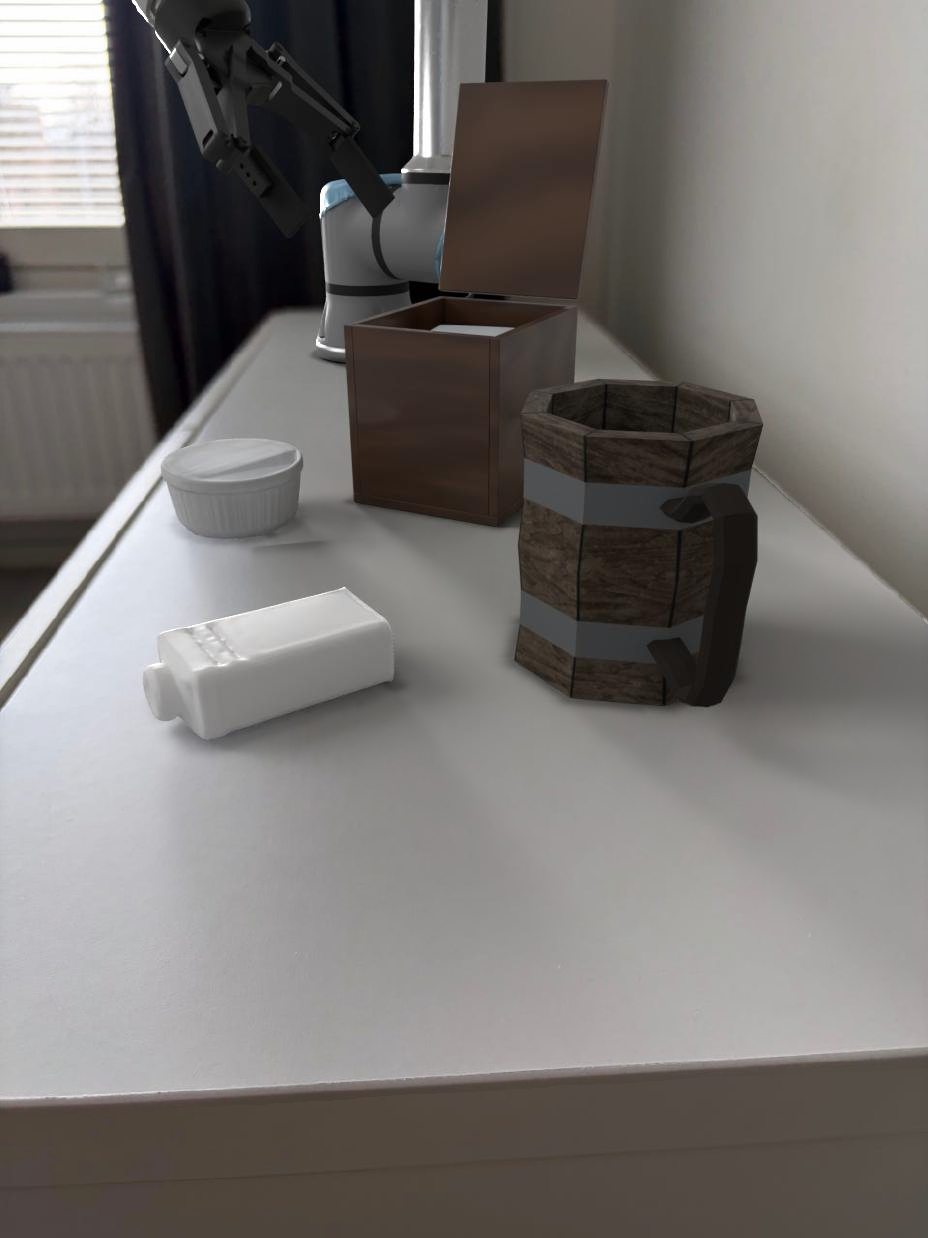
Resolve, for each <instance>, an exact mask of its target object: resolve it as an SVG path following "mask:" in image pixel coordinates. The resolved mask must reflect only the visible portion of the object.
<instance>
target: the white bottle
mask: <svg viewBox="0 0 928 1238" xmlns="http://www.w3.org/2000/svg"><path fill="white" fill-rule="evenodd" d="M393 638H394V635H393V630H392V627H391V625H390V623H389V621H388V620H387V619H386V618H385V617H384V616H383V615H381V614H379V613H378V612H377V611H376V610H374V609H373V608H372V607H371V606H369V605H368V604H366V602H365V601H363V600H361V598H359V597H357V595H355V594H354V593H353V592H352V591H351V590H349V589H348V588H347V587H345V586H343V587H341V588H339V589H334V590H330V591H326V592H323V593H318V594H314V595H311V596H306V597H301V598H299V599H295V600H290V601H286V602H282V603H279V604H275V605H271V606H266V607H262V608H259V609H255V610H250V611H245V612H242V613H239V614H235V615H230V616H226V617H222V618H218V619H214V620H210V621H206V622H202V623H197V624H193V625H190V626H189V625H188V626H185V627H177V628H173V629H169V630H165V631H162V632H160V633H158V634H157V636H156V646H157V653H158V661H159V662H156V663H153V664H149V665H147V666H146V667H145V668H144V669H143V672H142V688H143V692H144V696H145V700H146V702H147V705H148V708H149V710H150V712H151V714H152V715H153V718H155V719H157V720H159V721H162V722H171V721H174V720H175V719H176V718H177V717H178V718H180V719H181V720H182V721H183V722H184V723H185V724H186V725H187V726H188V728H190V729H191V730H192V731H193V732H194V733H195V734H196V735H197V736H198V737H199V738H201V739H202V740H204V741H210V740H211V741H212V740H214V739H220V738H223V737H225V736H226V735H228V734H229V733H231V732H235V731H238V730H242V729H245V728H248V727H251V726H254V725H257V724H260V723H263V722H267V721H269V720H273V719H276V718H278V717H281V716H284V715H288V714H290V713H294V712H297V711H300V710H302V709H306V708H308V707H312V706H316V705H319V704H321V703H325V702H328V701H332V700H334V699H338V698H341V697H344V696H346V695H349V694H350V695H351V694H353V693H355V692H358V691H363V690H365V689H368V688H370V687H374V686H376V685H377V686H378V685H379V684H382V683H386V682H387V683H388V682H390V683H391V682H392V681H393V680H394V676H395V667H394V666H395V659H394V658H395V655H394V653H395V652H394V639H393Z"/></svg>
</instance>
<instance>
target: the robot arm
mask: <svg viewBox="0 0 928 1238" xmlns="http://www.w3.org/2000/svg"><path fill="white" fill-rule="evenodd" d="M131 1H132V3H133V4H134V5H135V6H136V9H137V12H138V13H139V14H140V15H142V16H143V17H144V19H145V20H146V22H147V23H148V24H149V26H151V27H153V28H154V32H155V35H156V37H157V38H158V39H159V40H160V42H161V43H162V45H163V46H164V48H165V49H166V50H167V51H168V53H169V54H168V56H167V58H166V59H165V61H164V65H165V68H166V69H167V71H168V72H169V74H170V75H171V77H172V79H173V80H174V81H175V83H176V85H177V87H178V90H179V93H180V96H181V99H182V101H183V105H184V108H185V111H186V114H187V117H188V119H189V122H190V125H191V128H192V130H193V133H194V136H195V140H196V142H197V145H198V148H199V151H200V154H201V156H202V158H204V160H206V161H207V162H209V163H212V164H213V163H215V162H216V160H218V161H217V162H216V164H215V166H216V168H217V170H218V171H219V172H220V173H222V174H223V175H227V176H228V175H229V174H230V173H231V172H232V171H233V170H235V172H236V173H237V174H238V176H239V177H240V178H241V180H242V181H243V182H244V184H245V185H246V187H248V189H249V191H250V192H251V194H252V195H254V197H256V199H257V200H258V202H259V203H260V204H261V205H262V207H263V208H264V210H265V211H266V212H267V214H268V215H269V216H270V218H271V219H272V220H273V222H274V223H275V225H276V226H277V227H278V229H279V230H280V231H281V232H282V234H283V236H284V237H285V238H286V239H290V238H293V237H294V235H296V233H297V232H298V231H299V230H300V229H301V227H303V225H304V224H305V223H306V222H307V220H309V219H310V218H311V216H312V214H311V211H309V209H308V208H307V207H306V205H305V204H304V203H303V201H302V199H301V198H300V197H299V195H298V194H297V192H295V190H294V188H292V186H291V184H289V182H288V181H287V179H286V178H285V176H284V175H283V174H282V173H281V171H280V170H279V168H278V167H277V166H276V164H275V163H274V161H273V160H272V159H271V157H270V156H269V155H268V153H267V151H266V150H265V149H264V148H263V146H262V145H261V144H256V145H254V146H253V147H252V148H251V149H250V146H251V144H252V143H251V135H250V127H249V117H248V109H247V105H254V106H260V107H261V108H262V109H264V110H265V111H266V112H269V113H275V112H276V113H278V114H279V115H281V117H283V118H285V119H286V120H287V121H289V122H290V123H291V124H293V125H294V126H295V127H296V128H298V129H299V130H301V131H302V132H303V133H305V134H306V135H307V136H309V137H310V138H311V139H313V140H314V141H315V142H317V144H320V145H321V146H322V147H324V149H326V150H328V151H329V152H330V153H332V154H331V155H330V156H329V160H330V162H331V163H332V164H333V165H334V167H335V168H336V170H337V171H338V173H339V174H340V175H341V177H342V179H337V180H332V181H330V182H328V183H326V184H325V185H324V186H323V187H322V189H321V192H320V213H319V220H320V233H321V244H322V257H323V270H324V280H325V296H326V297H325V303H324V307H323V312H322V316H321V320H320V324H319V328H318V333H317V337H316V341H315V342H316V355H317V356H318V357H320V358H322V359H325V360H327V361H332V362H338V363H346V358H345V341H344V325H345V324H349V323H352V322H355V321H359V320H362V319H365V318H369V317H372V316H375V315H379V314H382V313H386V312H389V311H392V310H396V309H399V308H402V307H406V306H409V305H412V304H413V303H412V301H411V296H410V282H418V283H419V282H420V283H431V284H439V280H440V270H441V261H442V251H443V241H444V232H445V222H446V212H447V203H448V193H449V183H450V174H451V164H452V154H453V145H454V135H455V125H456V116H457V106H458V96H459V87H460V83H486V61H487V60H486V59H487V58H486V56H487V34H488V33H487V31H488V29H487V28H488V1H489V0H414V79H413V80H414V87H413V88H414V92H413V93H414V99H413V103H414V104H413V109H414V110H413V112H414V113H413V114H414V115H413V155H412V157H411V159H409V161H408V162H407V163H406V164H405V165H404V166H403V167H402V168H401V173H385V174H383V173H382V174H379V173H378V171H377V170H376V168H375V167H374V165H373V164H372V163H371V161H370V160H369V158H368V157H367V156H366V154H365V152H363V150H362V149H361V147H360V146H359V145H358V143H357V142H356V140H355V139H354V138H355V136H356V135H357V133H358V132H359V131H360V130H361V125H360V123H359V122H358V121H357V120H356V119H354V117H353V116H351V114H350V113H349V112H348V111H346V109H344V108H343V107H342V106H341V105H340V104H339V103H338V102H337V101H336V100H335V99H334V98H333V97H332V96H331V95H330V94H329V93H328V92H326V90H325V89H324V88H323V87H322V86H321V85H320V84H319V83H318V82H316V81H315V80H314V79H313V77H311V76H310V75H309V74H308V73H307V72H306V71H305V70H304V69H303V68H302V67H301V66H300V65H299V64H298V63H297V62H296V61H295V60H294V58H293V57H292V56H291V55H290V54H289V52H288V51H287V49H286V48H285V47H284V46H283V45H282V44H281V43H280V42H278V41H274V42H273V43H272V45H270V47H269V49H268V50H265V49H264V48H263V47H262V46H261V45H260V44H259V43H258V42H257V41H256V40H255V39H254V38H253V37H252V35H251V20H252V15H251V10H250V7H249V5H248V3H247V2H246V0H131ZM474 296H475V293H468V295H467V296H465V297H464V298H473V299H474V298H475V297H474Z"/></svg>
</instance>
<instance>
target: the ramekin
mask: <svg viewBox="0 0 928 1238" xmlns="http://www.w3.org/2000/svg"><path fill="white" fill-rule="evenodd" d="M303 457H304V456H303V453H302V452H301V451H300V450H299V449H298V448H297V447H295V446H294V445H292V444H289V443H287V442H283V441H278V440H274V439H267V438H245V437H244V438H242V437H241V438H224V439H215V440H209V441H205V442H199V443H195V444H190V445H187V446H184V447H182V448H178V449H176V450H175V449H174V450H173V451H171V452H169V453H168V454H166V455H165V457H164V458H163V459H162V460H161V462H160V473H161V477H162V479H163V480H164V481H165V483H166V486H167V489H168V492H169V496H170V499H171V502H172V506H173V509H174V512H175V515H176V517H177V520H178V522H179V523H180V524H181V525H182V526H183V527H185V528H186V529H187V531H189V532H191V533H193V534H194V535H198V536H201V537H205V538H211V539H221V540H222V539H223V540H230V539H232V540H233V539H247V538H248V539H249V538H253V537H259V536H263V535H267V534H271V533H274V532H277V531H278V530H280V529H282V528H283V527H285V526H286V525H288V524H289V523H290V522H291V521H292V520H293V518H294V517H295V515H296V514H297V511H298V509H299V505H300V504H299V502H300V490H301V478H302V477H301V476H302V474H301V473H302V471H303V469H304V458H303Z"/></svg>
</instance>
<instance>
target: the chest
mask: <svg viewBox="0 0 928 1238" xmlns="http://www.w3.org/2000/svg"><path fill="white" fill-rule="evenodd" d="M578 311H579V306H578V305H568V304H555V303H554V304H553V303H542V302H529V301H528V302H526V301H515V300H514V301H513V300H499V299H498V300H497V299H488V298H487V299H486V298H474V297H473V298H465V297H456V296H446V295H445V296H442V295H440V296H437V297H433V298H430V299H426V300H423V301H420V302H417V303H412V305H409V306H406V307H402V308H399V309H396V310H392V311H389V312H386V313H382V314H379V315H375V316H372V317H369V318H365V319H362V320H359V321H355V322H352V323H349V324H345V325H344V341H345V358H346V362H345V372H346V389H347V406H348V407H347V408H348V422H349V423H348V424H349V440H350V441H349V442H350V457H351V458H350V459H351V474H352V475H351V477H352V492H353V502H354V503H359V504H364V505H371V506H376V507H381V508H386V509H387V508H388V509H393V510H399V511H404V512H410V513H415V514H422V515H427V516H432V517H433V516H434V517H439V518H445V519H451V520H457V521H462V522H467V523H472V524H479V525H485V526H490V527H499V526H500V525H501V524H503V523H504V522H505V521H506V520H508V519H509V518H510V517H512V516H513V515H514V514H516V513H517V512H518V511H520V509H522V505H523V496H524V448H523V438H522V428H521V417H520V413H521V411H522V409H523V407H524V405H525V403H526V401H527V399H528V397H529V394H530V392H531V391H533V390H538V389H544V388H549V387H555V386H560V385H566V384H571V383H575V375H576V354H577V334H578V333H577V332H578V314H579V313H578ZM439 325H462V326H490V327H509V328H514V329H512V330H509V331H507V332H504V333H502V334H500V335H497V336H495V337H494V336H486V335H475V334H463V333H452V332H441V331H430V330H432V329H434V328H435V327H437V326H439Z"/></svg>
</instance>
